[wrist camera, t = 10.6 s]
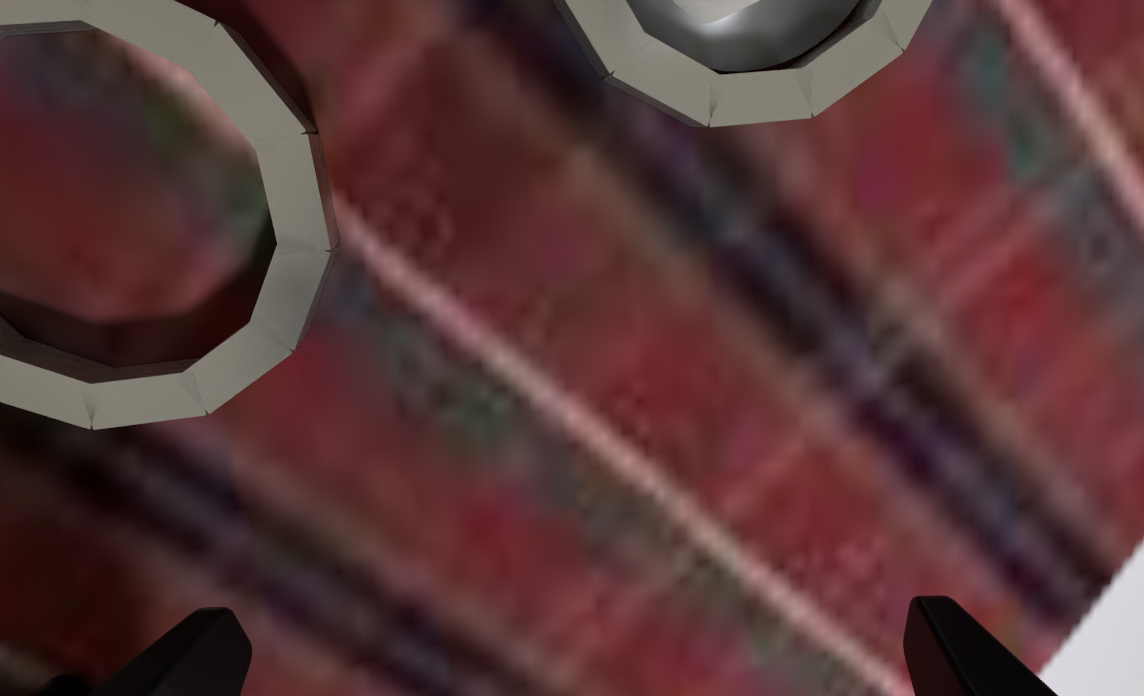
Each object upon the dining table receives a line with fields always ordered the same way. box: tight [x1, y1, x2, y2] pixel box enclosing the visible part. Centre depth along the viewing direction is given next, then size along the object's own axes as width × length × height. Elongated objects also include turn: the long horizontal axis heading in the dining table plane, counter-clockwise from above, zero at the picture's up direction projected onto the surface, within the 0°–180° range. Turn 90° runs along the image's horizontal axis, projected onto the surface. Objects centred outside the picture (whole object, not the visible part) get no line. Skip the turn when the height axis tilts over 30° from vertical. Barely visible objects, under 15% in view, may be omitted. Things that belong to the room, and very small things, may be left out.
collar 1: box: [0, 0, 340, 430], centre depth 16 cm, size 10×10×1 cm
